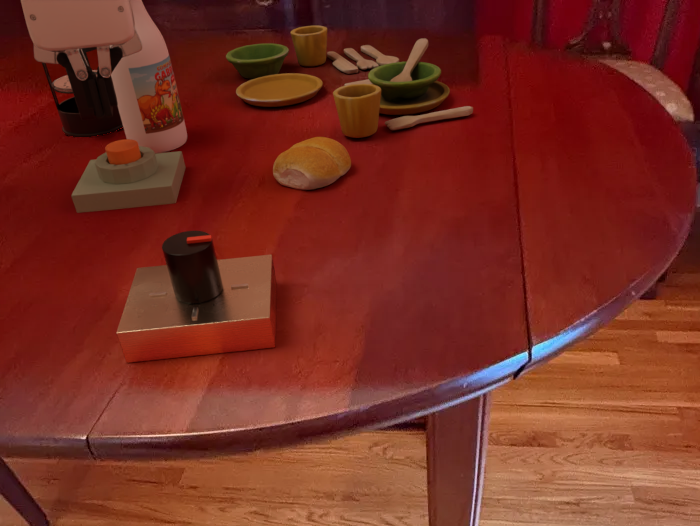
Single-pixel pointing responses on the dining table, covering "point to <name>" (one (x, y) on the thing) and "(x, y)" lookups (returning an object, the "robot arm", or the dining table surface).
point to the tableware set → (353, 98)
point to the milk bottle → (149, 90)
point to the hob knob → (192, 266)
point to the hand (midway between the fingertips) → (105, 113)
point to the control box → (130, 182)
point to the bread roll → (312, 164)
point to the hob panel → (200, 313)
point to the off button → (123, 152)
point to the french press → (80, 107)
